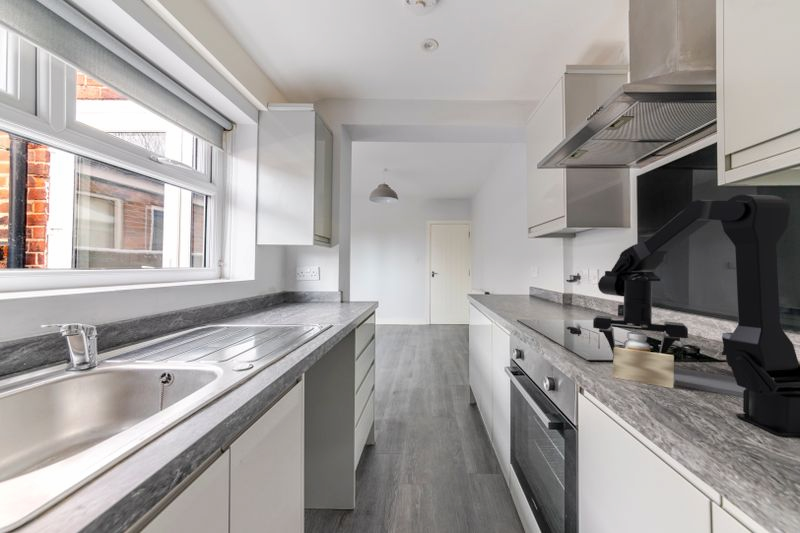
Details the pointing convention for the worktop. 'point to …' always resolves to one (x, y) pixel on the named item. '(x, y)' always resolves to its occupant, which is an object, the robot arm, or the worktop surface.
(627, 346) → the supplement bottle
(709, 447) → the worktop surface
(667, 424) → the worktop surface
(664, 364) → the birch screen
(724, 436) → the worktop surface
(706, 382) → the charcoal mat
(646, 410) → the worktop surface
